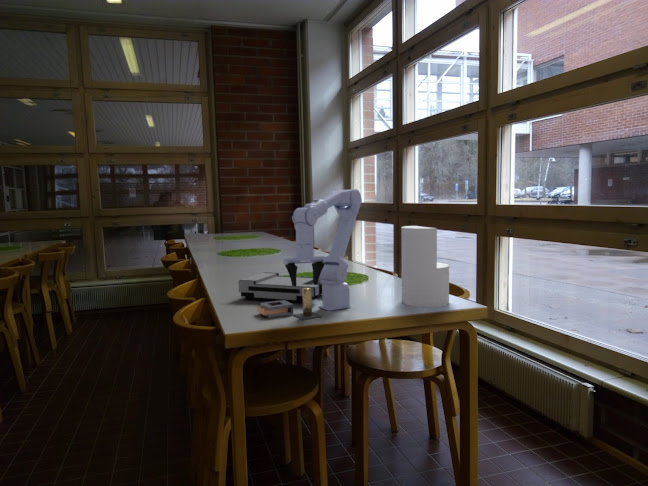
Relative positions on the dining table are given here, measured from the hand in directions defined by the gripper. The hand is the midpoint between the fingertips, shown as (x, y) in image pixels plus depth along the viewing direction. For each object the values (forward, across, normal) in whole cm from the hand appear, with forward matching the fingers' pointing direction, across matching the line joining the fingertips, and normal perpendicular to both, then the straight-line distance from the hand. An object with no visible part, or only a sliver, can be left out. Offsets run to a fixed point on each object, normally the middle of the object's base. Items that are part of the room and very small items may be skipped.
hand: (304, 285), depth 152 cm
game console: (+10, +6, +32) cm, 34 cm away
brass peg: (+10, +1, 0) cm, 10 cm away
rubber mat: (+11, +1, 0) cm, 11 cm away
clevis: (+11, -7, +9) cm, 16 cm away
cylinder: (+10, +48, -2) cm, 49 cm away
